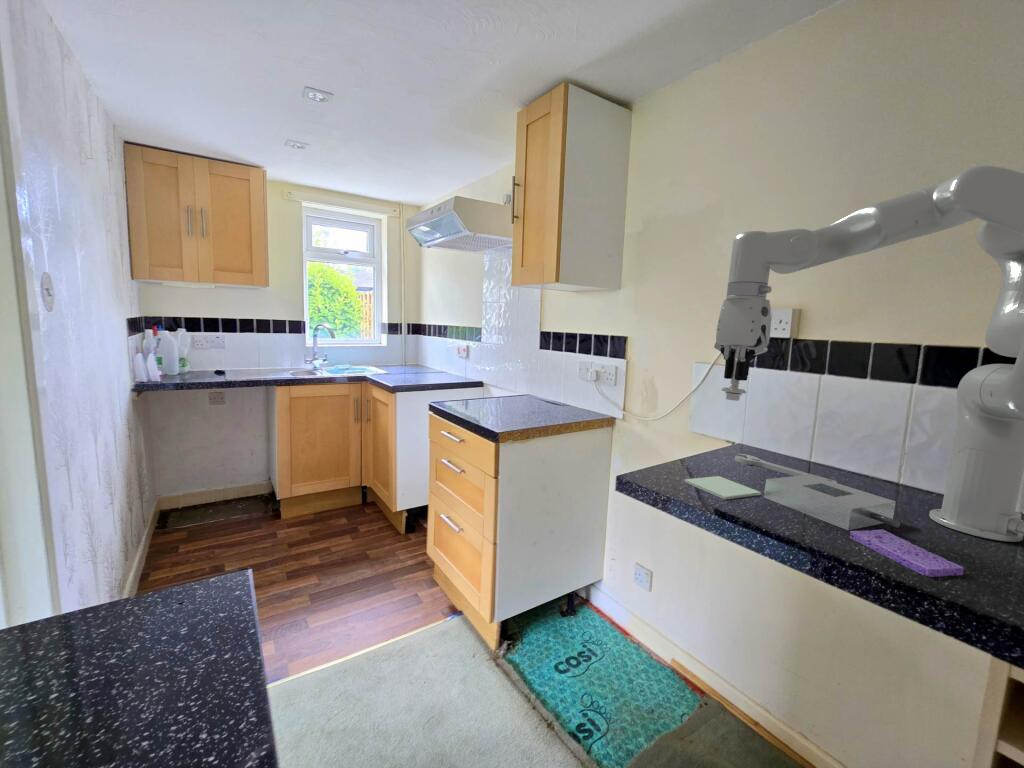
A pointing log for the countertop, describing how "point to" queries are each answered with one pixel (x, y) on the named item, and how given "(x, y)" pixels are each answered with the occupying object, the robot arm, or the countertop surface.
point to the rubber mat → (722, 487)
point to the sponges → (906, 553)
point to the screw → (733, 391)
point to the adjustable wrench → (771, 465)
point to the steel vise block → (831, 501)
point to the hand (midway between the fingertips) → (735, 378)
